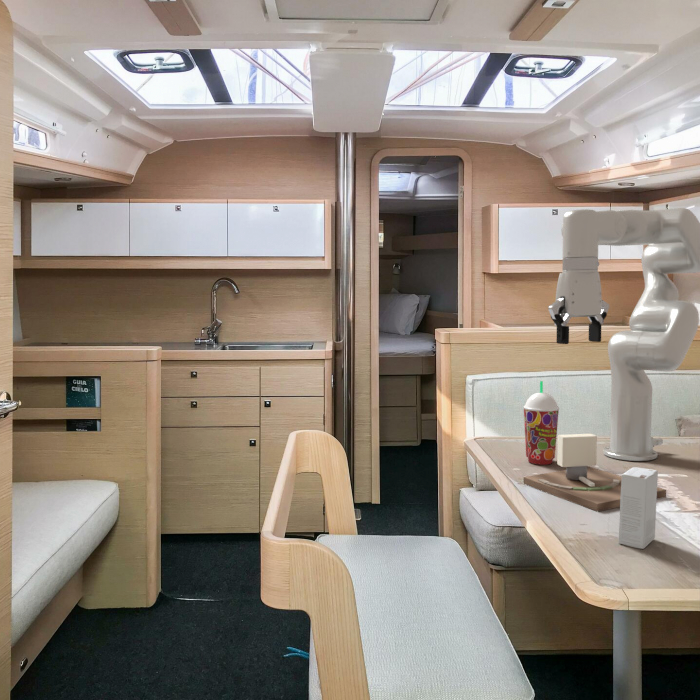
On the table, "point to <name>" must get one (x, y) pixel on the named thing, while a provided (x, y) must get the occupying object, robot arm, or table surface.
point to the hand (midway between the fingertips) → (578, 342)
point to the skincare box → (638, 507)
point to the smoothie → (540, 427)
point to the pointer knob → (577, 455)
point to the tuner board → (584, 488)
